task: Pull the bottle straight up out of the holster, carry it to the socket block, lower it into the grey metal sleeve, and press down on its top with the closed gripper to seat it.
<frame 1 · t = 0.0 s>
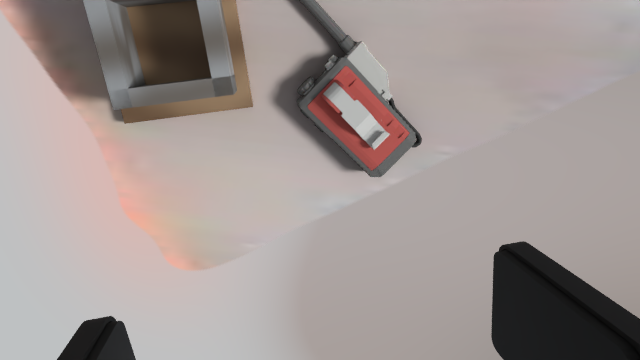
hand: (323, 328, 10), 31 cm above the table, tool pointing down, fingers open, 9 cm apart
walkie-talkie: (339, 89, 40), on the table
socket: (176, 43, 36), on the table
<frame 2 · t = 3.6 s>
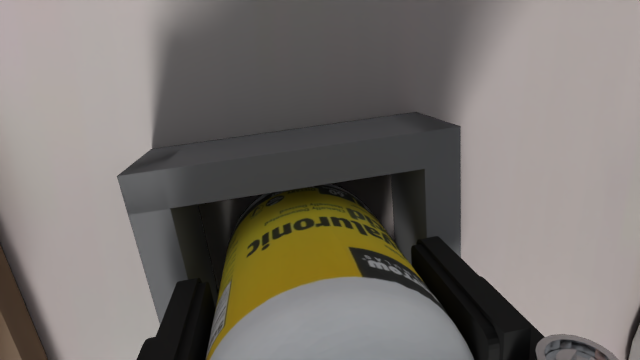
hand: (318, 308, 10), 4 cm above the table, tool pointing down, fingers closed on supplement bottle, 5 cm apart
supplement bottle: (304, 246, 14), resting in holster, touching gripper
holster: (305, 248, 14), on the table
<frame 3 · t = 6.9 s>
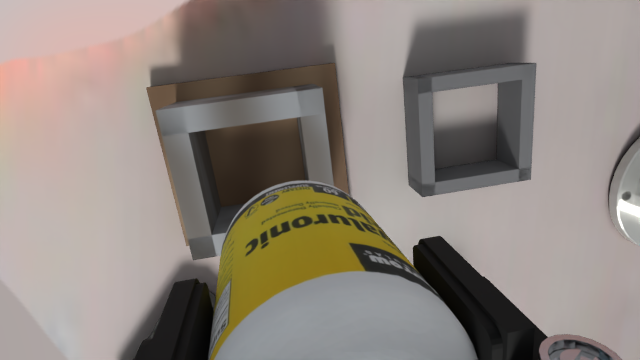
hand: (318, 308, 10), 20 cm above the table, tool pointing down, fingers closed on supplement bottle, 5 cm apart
socket: (257, 155, 29), on the table
supplement bottle: (297, 245, 14), point 16 cm above the table, touching gripper
holster: (458, 125, 31), on the table
when the fingers open (7 cm above the table, at t = 10.0 s): supplement bottle drops 2 cm, resting on socket.
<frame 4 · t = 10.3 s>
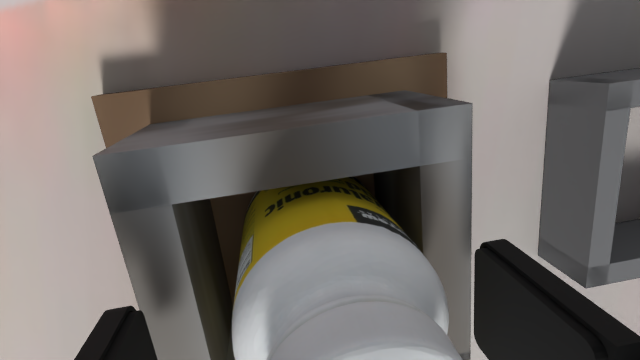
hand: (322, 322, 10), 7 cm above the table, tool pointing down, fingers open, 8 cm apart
socket: (296, 214, 17), on the table
supplement bottle: (309, 220, 16), point 1 cm above the table, touching socket
holster: (626, 160, 18), on the table
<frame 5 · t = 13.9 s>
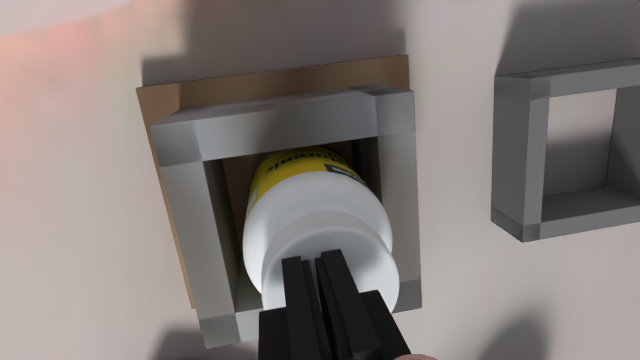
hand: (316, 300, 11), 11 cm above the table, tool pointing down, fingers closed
socket: (292, 183, 21), on the table
supplement bottle: (301, 187, 20), point 1 cm above the table, touching gripper, socket
holster: (561, 142, 23), on the table
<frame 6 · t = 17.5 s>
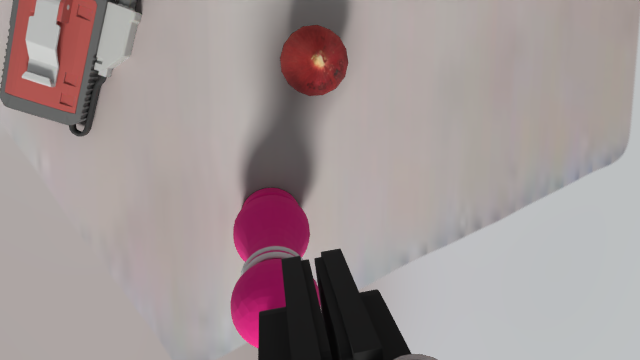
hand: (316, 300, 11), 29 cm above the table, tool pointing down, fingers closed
walkie-talkie: (87, 19, 34), on the table
onion: (308, 61, 37), on the table
pepper mill: (270, 214, 41), on the table
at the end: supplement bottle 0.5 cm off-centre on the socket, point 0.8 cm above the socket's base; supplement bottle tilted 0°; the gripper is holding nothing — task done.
